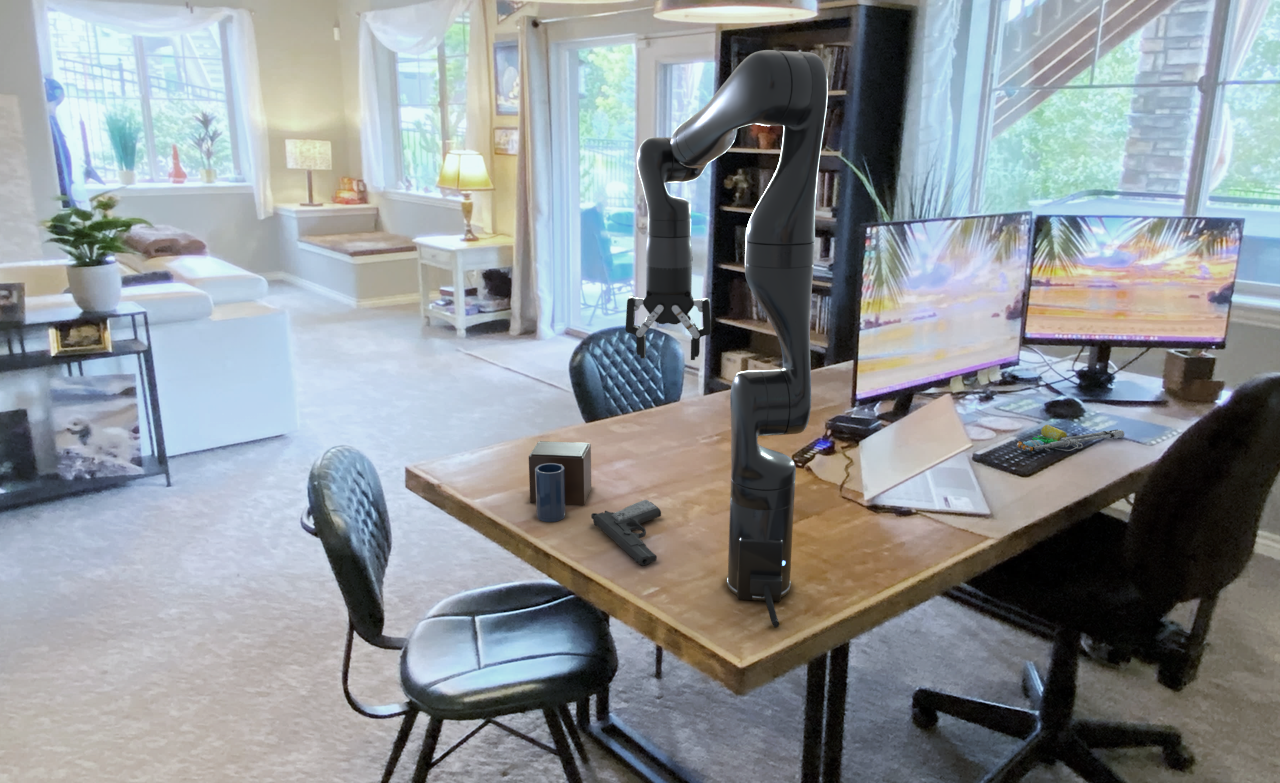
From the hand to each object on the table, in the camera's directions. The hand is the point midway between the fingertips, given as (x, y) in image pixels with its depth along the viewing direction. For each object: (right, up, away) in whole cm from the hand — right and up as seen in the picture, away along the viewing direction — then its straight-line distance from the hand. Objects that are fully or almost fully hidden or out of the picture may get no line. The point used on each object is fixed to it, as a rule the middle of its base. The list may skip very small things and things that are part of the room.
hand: (668, 358), depth 157 cm
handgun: (-4, -30, -2) cm, 31 cm away
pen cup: (-20, -28, +6) cm, 35 cm away
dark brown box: (-19, -25, +15) cm, 35 cm away
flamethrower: (+87, -17, +43) cm, 99 cm away
